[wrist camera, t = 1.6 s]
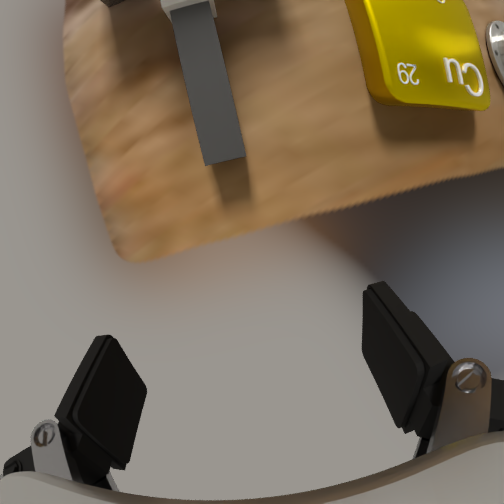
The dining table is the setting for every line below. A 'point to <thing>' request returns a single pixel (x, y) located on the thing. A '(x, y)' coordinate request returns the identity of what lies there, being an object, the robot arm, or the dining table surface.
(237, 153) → the grey and white bar
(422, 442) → the robot arm
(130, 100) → the dining table surface
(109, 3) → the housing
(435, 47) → the element tile
